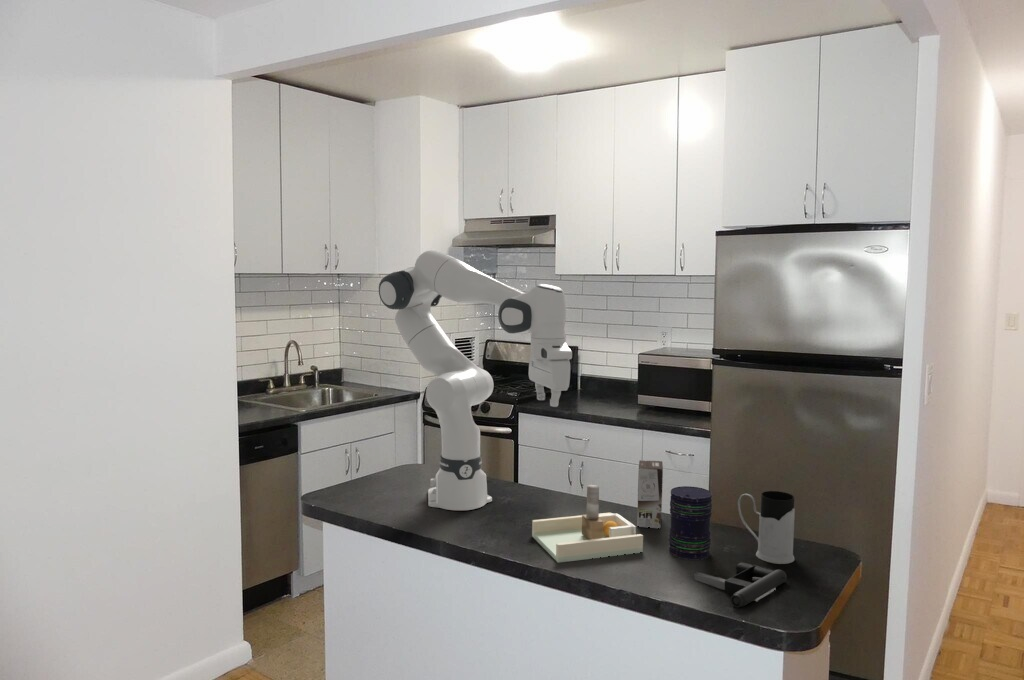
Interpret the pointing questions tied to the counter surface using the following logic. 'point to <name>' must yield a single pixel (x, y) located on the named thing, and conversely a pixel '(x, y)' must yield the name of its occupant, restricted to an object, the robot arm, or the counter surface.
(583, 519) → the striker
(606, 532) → the ball
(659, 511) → the coffee box
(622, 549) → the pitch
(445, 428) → the robot arm
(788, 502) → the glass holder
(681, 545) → the storage jar
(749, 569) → the door handle
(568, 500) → the counter surface
